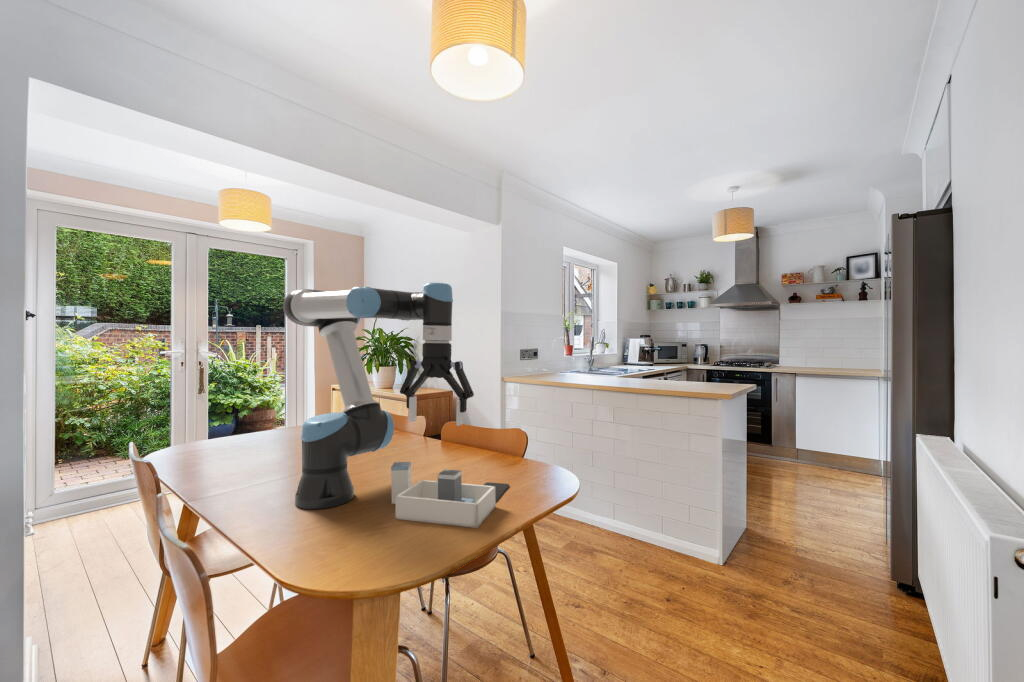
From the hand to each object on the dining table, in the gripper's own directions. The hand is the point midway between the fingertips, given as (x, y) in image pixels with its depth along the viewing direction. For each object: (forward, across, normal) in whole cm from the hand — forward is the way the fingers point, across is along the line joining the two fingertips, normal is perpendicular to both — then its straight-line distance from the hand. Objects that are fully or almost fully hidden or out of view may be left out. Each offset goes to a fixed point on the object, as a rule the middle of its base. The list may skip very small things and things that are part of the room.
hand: (435, 422), depth 116 cm
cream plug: (+23, -11, +2) cm, 26 cm away
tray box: (+22, +5, -2) cm, 23 cm away
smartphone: (+23, +11, +14) cm, 29 cm away
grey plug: (+22, +6, -3) cm, 23 cm away
